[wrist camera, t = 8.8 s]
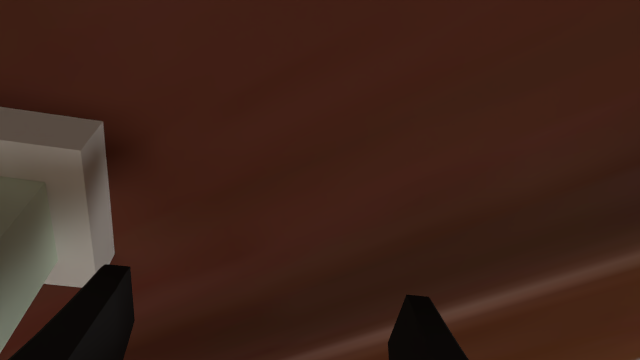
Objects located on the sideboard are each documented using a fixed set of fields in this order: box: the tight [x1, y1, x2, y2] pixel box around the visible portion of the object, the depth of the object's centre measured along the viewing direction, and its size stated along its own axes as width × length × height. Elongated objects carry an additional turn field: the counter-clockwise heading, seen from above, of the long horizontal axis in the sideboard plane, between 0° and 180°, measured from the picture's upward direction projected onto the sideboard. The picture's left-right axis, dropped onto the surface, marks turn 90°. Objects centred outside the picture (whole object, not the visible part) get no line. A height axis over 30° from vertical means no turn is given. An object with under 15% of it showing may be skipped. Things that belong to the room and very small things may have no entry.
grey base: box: [0, 107, 115, 287], centre depth 22 cm, size 8×8×3 cm
